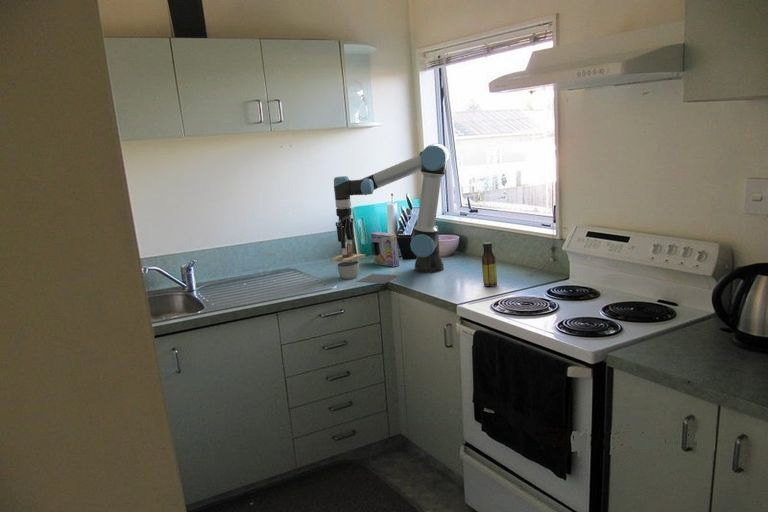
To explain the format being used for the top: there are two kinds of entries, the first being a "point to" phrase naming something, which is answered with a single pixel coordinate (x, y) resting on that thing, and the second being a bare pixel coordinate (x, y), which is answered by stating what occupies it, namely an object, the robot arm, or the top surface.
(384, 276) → the mat
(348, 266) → the teacup
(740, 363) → the top surface
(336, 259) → the lid
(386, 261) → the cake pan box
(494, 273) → the sauce bottle
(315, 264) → the top surface
